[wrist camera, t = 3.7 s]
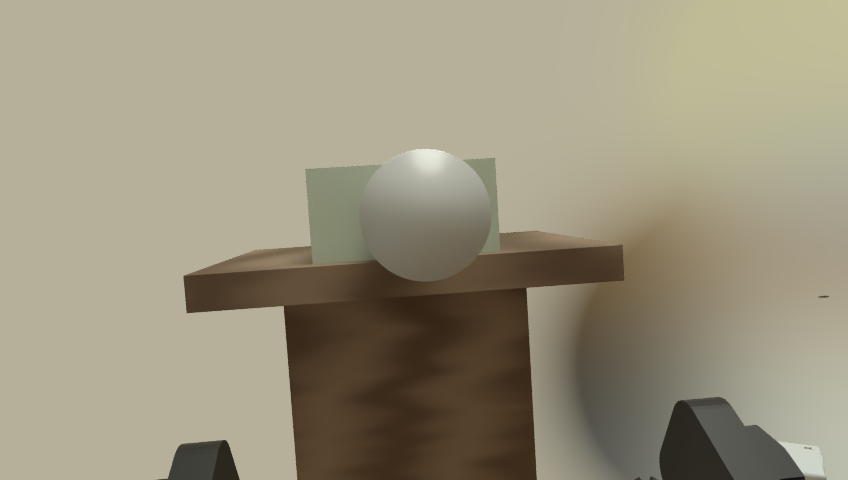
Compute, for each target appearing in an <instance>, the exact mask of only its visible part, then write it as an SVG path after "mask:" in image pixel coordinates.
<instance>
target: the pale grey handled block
mask: <svg viewBox="0 0 848 480" xmlns="http://www.w3.org/2000/svg"><path fill="white" fill-rule="evenodd" d="M306 183H307V196H308V209H309V223H310V236H311V249H312V263H313V265H314V264H328V263H342V262H356V261H370V260H377V261H378V262H379V263H380V264H381V265H382V266H383V267H385V268H386V269H387V270H389V271H390V272H392V273H394V274H396V275H398V276H400V277H403V278H405V279H409V280H413V281H421V282H430V281H437V280H442V279H445V278H448V277H451V276H453V275H455V274H457V273H459V272H460V271H462V270H463V269H465V268H466V267H467V266H469V265H470V264H471V263H472V262H473V261H474V260H475V259H476V257H477V256H478V255H479V253H484V252H498V251H500V240H499V222H498V206H497V186H496V169H495V158H486V159H469V160H461V159H459V158H458V157H456V156H454V155H452V154H449V153H447V152H443V151H439V150H433V149H418V150H412V151H408V152H404V153H402V154H399V155H397V156H395V157H394V158H392V159H390V160H388V161H387V162H386V163H384V164H383V165H369V166H351V167H335V168H318V169H306Z"/></svg>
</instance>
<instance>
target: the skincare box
mask: <svg viewBox="0 0 848 480" xmlns="http://www.w3.org/2000/svg"><path fill="white" fill-rule="evenodd" d="M778 443H779V444H781V445H782V446H783V447H784V448H785V449H786V450H787V452H788V453H789V454H790V456H791V457H792V459H793V460H794V462H795V463H796V464H797V466H798V467H799V469H800V470H801V471H802V473H803V474H804V476H805V480H826V474H825V468H824V460H823V457H822V453H821V449H820V447H818V446H810V445H802V444H794V443H786V442H778Z"/></svg>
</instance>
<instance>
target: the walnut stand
mask: <svg viewBox="0 0 848 480" xmlns="http://www.w3.org/2000/svg"><path fill="white" fill-rule="evenodd" d="M499 240H500V251H498V252H484V253H479V255H478V256H477V257H476V259H475V260H474V261H473V262H472V263H471V264H470V265H469V266H467V267H466V268H465V269H463V270H462V271H460V272H459V273H457V274H455V275H453V276H451V277H448V278H445V279H442V280H437V281H430V282H421V281H413V280H409V279H405V278H403V277H400V276H398V275H396V274H394V273H392V272H390V271H389V270H387V269H386V268H385V267H383V266H382V265H381V264H380V263H379V262H378V261H377V260H370V261H356V262H342V263H328V264H314V265H313V263H312V249H311V246H309V247H294V248H279V249H264V250H254V251H251V252H249V253H246V254H243V255H240V256H238V257H235V258H232V259H229V260H226V261H224V262H221V263H218V264H215V265H212V266H210V267H207V268H204V269H201V270H199V271H196V272H193V273H190V274H187V275H185V276H184V287H185V298H186V310H187V313H194V312H208V311H222V310H233V309H234V310H235V309H248V308H262V307H275V306H284V315H285V326H286V340H287V353H288V366H289V378H290V391H291V403H292V416H293V429H294V441H295V454H296V467H297V480H537V477H536V458H535V441H534V422H533V403H532V386H531V366H530V347H529V329H528V311H527V292H526V288H529V287H542V286H556V285H569V284H582V283H596V282H609V281H622V280H624V267H623V245H620V244H614V243H607V242H601V241H595V240H589V239H583V238H577V237H571V236H565V235H558V234H552V233H546V232H539V231H528V232H513V233H499Z"/></svg>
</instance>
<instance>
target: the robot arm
mask: <svg viewBox="0 0 848 480" xmlns="http://www.w3.org/2000/svg"><path fill="white" fill-rule="evenodd" d="M660 470H661V475H662V479H663V480H805V476H804V474H803V473H802V471H801V470H800V469H799V467H798V466H797V464H796V463H795V462H794V460H793V459H792V457H791V456H790V454H789V453H788V452H787V450H786V449H785V448H784V447H783V446H782V445H781V444H779V443H778V442H777V441H776V440H774V439H773V438H772V437H771V436H770V435H768V434H767V433H766V432H765V431H763V430H762V429H761V428H760V427H759V426H757V425H752V426H744V425H743V423H742V422H741V420H740V419H739V417H738V416H737V414H736V413H735V411H734V409H733V408H732V407H731V405H730V404H729V403H728V402H727V401H726V400H725V399H723V398H721V397H714V398H704V399H692V400H681V401H678V402H677V403H676V404H675V406H674V409H673V412H672V415H671V419H670V422H669V425H668V428H667V432H666V435H665V438H664V441H663V444H662V448H661V451H660ZM160 480H239V476H238V473H237V470H236V466H235V463H234V460H233V457H232V454H231V451H230V447H229V444H228V443H227V441H226V440H222V441H209V442H199V443H187V444H181V445H180V446H179V447H178V449H177V451H176V453H175V456H174V460H173V463H172V466H171V470H170V473H169V477H168V479H160Z"/></svg>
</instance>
